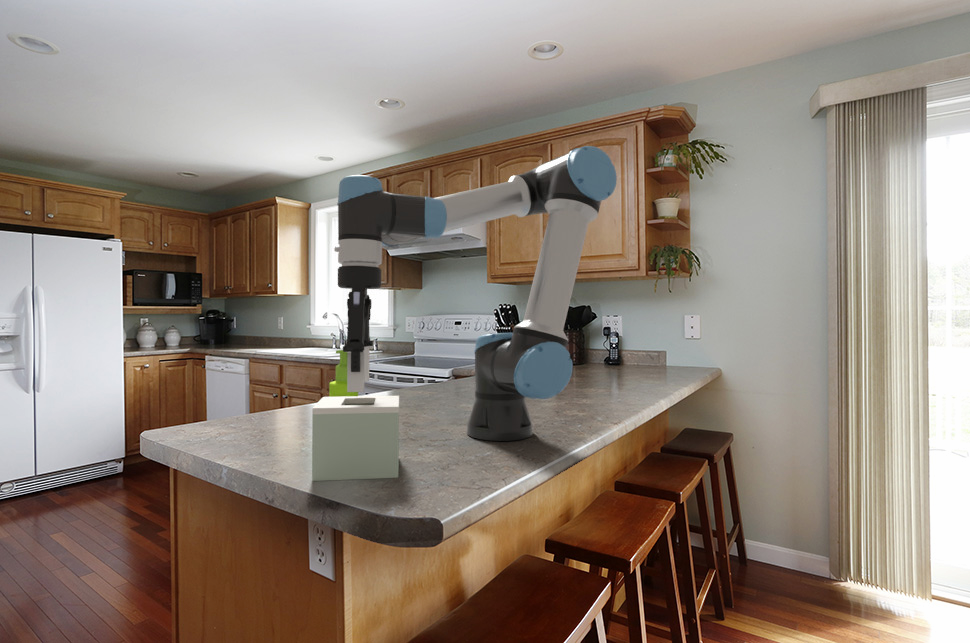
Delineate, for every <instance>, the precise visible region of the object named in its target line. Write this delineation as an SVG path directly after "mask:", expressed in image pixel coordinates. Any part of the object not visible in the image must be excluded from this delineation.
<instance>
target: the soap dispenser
mask: <svg viewBox="0 0 970 643" xmlns="http://www.w3.org/2000/svg"><path fill="white" fill-rule="evenodd" d="M335 354H339V363H338V364H337V365H335V380H334V381H330V382H329V383H328V384H329V387H328V388H329V389H328V391H329V392H328V394H329V395H328V397H343V396H359V392H347V352H343V349H338V350H335Z"/></svg>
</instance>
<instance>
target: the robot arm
mask: <svg viewBox="0 0 970 643" xmlns="http://www.w3.org/2000/svg"><path fill="white" fill-rule="evenodd" d="M617 180H618V179H617V170H616V167H615V165H614V164H613V162H612V159H611V158H610V156H609V155H608V153H607V152H605V151H604V150H603V149H601V148H599V147H597V146H594V145H585V146H581V147H577V148H573V149H571V150H570V151H569V152H568V153H566V154H564V155H563V154H562V155H561V156H558V157H555V158H554V159H551V160H548V161H546V162H544V163H543V164H541V165H539V166H537V167H535V168H533V169H531V170H528V171H526V172H523V173H520V174H516V175H512V176H510V177H509V179H508V181H505V182H501V183H496V184H491V185H488V186H487V185H486V186H483V187H478V188H474V189H469V190H464V191H459V192H456V193H455V192H454V193H452V194H446V195H443V196H438V197H431V196H430V197H429V196H427V195H424V196H421V195H411V194H410V195H409V194H404V193H403V194H401V193H392V192H388V191H384V188H383V183H382V181H381V180H380V179H379V178H377V177H372V176H370V175H363V174H361V175H360V174H356V175H355V174H354V175H353V174H352V175H347V176H345V177H343V178H342V179H341V180H339V185H338V198H337V225H338V226H337V227H338V228H337V230H338V233H337V234H338V235H337V236H338V237H337V238H338V239H337V241H338V243H337V244H338V246H335V247H334V248H333V249H334V252H336V253H338V254H337V261H338V264H340V265H341V266H339V267H338V268H337V287H339V288H340V289H347V290H349V289H351V291H349V293H348V294H347V295H348V298H347V299H346V300H347V301H346V306H347V332H346V342H345V345H343V346H342V350H343V352H347V392H358V393H364V392H365V382H370V347H374V341H373V340H371V336H370V321H371V309H372V299H371V298H370V294H368V290H378V289H380V288H381V287H382V269H381V267H379V266H380V265H381V264H382V263H383V247H395V246H398V245H401V244H403V243H407V242H410V241H415V240H418V239H424V240H428V239H439V238H441V237H442V236H443V234H444V233H447V232H449V231H450V232H451V231H454V230H459V229H461V228H465V227H471V226H474V225H477V224H481V223H482V224H483V223H486V222H490V221H493V220H494V221H495V220H498V219H503V218H505V217H506V218H507V217H509V216H513V215H515V216H516V217H517V218H518V217H519V218H524V217H528V216H533V215H541V214H548V219H547V223H546V226H545V231H544V236H543V240H542V244H541V247H540V252H539V256H538V259H537V264H536V268H535V271H534V272H535V273H534V276H533V280H532V284H531V288H530V292H529V297H528V301H527V304H526V309H525V312H524V317H523V320H522V321H520V322H519V323H518V324H516V325H514V327H513V330H512V332H498V333H488V334H487V333H486V334H482V335H480V336H478V337H477V338H476V341H475V348H474V402H473V404H472V408H471V411H470V414H469V418H468V421H467V424H466V434H467V435H468V436H470V437H471V438H475V439H479V440H485V441H492V442H493V441H494V442H508V441H510V442H511V441H519V440H525V439H528V438H530V437H532V436H533V422H532V419H531V415H530V412H529V410H528V406H527V403H526V402H527V401H526V398H529V399H531V400H532V399H533V400H536V399H538V400H547V399H551V398H554V397H555V396H557V395H558V394H560V393H562V391H563V390H564V389H565V388H567V386H568V384H569V383H570V380H571V377H572V375H573V365H574V364H573V360H572V359H571V354H570V352H569V350H568V349H567V346H568V342H569V338H568V337H567V335H566V334H565V331H564V328H565V323H566V319H567V316H568V311H569V307H570V304H571V300H572V299H571V298H572V295H573V290H574V287H575V282H576V277H577V274H578V270H579V265H580V260H581V257H582V254H583V253H582V252H583V249H584V244H585V241H586V236H587V231H588V229H589V228H588V227H589V224H590V223H591V222H593V221H595V220H596V219H597V218H598V215H599V213H600V212H599V211H600V207H601V205H602V204H601V203H602V201H605V200H607V199H609V197H610V196H612V194H613V193H614V192H615V190H616V187H617Z"/></svg>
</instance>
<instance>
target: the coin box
mask: <svg viewBox="0 0 970 643" xmlns="http://www.w3.org/2000/svg"><path fill="white" fill-rule="evenodd" d="M311 411H312V416H311V417H312V420H311V421H312V422H311V423H312V425H311V426H312V427H311V429H312V432H311V433H312V436H311V437H312V438H311V440H312V442H311V452H312V453H311V456H312V457H311V459H312V461H311V482H317V481H319V482H321V481H323V482H324V481H348V480H369V479H375V480H376V479H397V478H399V470H400V469H399V467H400V466H399V462H400V460H399V458H400V451H399V447H400V437H399V436H400V435H399V434H400V395H362V396H361V395H358V396H343V397H329V396H323V397H321V398H320V399H319V400H318V401H317V403H316V404H315V405H314V406H313V407H312V410H311Z"/></svg>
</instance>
